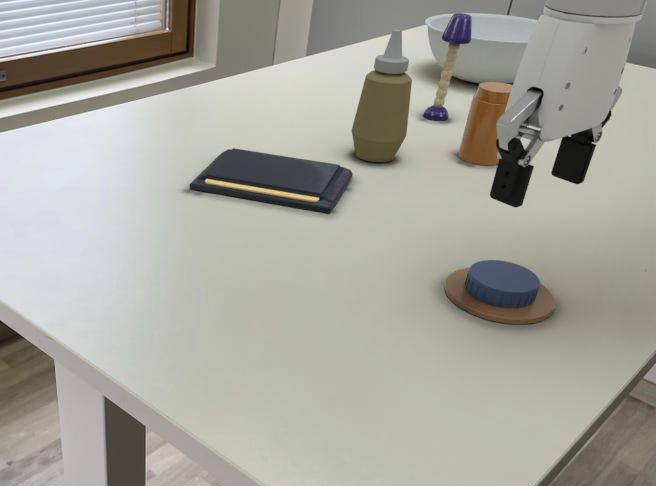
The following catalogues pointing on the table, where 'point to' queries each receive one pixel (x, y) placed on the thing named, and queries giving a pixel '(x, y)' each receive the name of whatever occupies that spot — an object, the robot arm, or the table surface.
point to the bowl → (484, 46)
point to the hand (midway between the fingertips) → (536, 190)
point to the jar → (484, 123)
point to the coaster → (522, 315)
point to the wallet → (275, 179)
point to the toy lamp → (450, 61)
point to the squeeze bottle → (383, 105)
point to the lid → (502, 284)
